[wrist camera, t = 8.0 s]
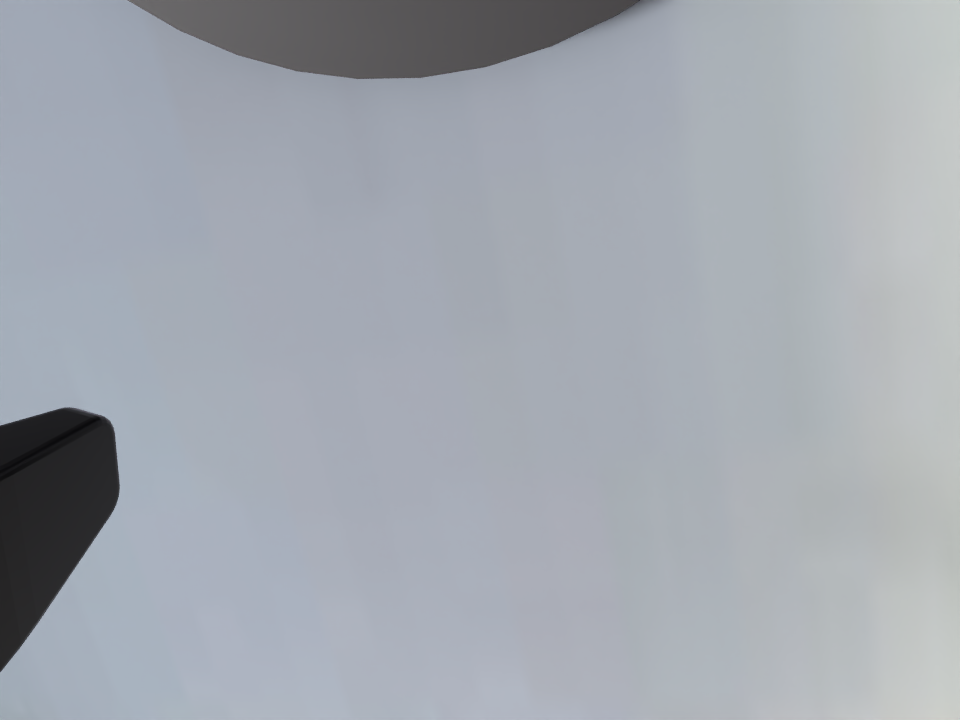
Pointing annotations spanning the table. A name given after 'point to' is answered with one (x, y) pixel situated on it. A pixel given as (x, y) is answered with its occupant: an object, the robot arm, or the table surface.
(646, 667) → the table surface
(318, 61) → the cap base
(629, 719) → the table surface
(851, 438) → the table surface
